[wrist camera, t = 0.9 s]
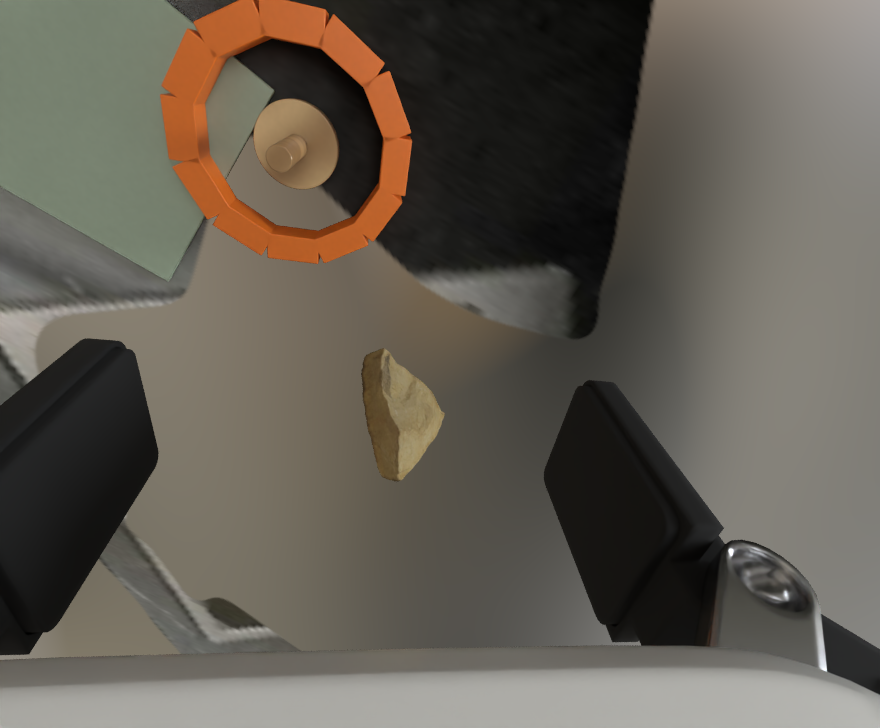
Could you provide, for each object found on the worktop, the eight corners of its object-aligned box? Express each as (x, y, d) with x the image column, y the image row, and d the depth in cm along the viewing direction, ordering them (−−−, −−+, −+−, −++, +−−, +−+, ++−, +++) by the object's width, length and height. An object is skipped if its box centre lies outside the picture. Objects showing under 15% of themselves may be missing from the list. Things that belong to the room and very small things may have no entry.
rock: (330, 358, 40) (342, 447, 45) (385, 390, 35) (392, 489, 39) (420, 330, 47) (422, 409, 51) (478, 353, 41) (475, 440, 46)
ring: (138, 162, 32) (122, 168, 30) (246, -69, 26) (235, -81, 24) (332, 288, 39) (330, 299, 37) (450, 128, 33) (455, 131, 31)
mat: (-96, 128, 30) (-102, 129, 30) (-32, -164, 23) (-38, -167, 23) (170, 280, 37) (168, 281, 37) (275, 90, 31) (274, 90, 31)
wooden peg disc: (241, 150, 33) (209, 166, 27) (282, 77, 31) (257, 77, 25) (312, 203, 35) (296, 227, 29) (354, 138, 33) (347, 151, 27)
